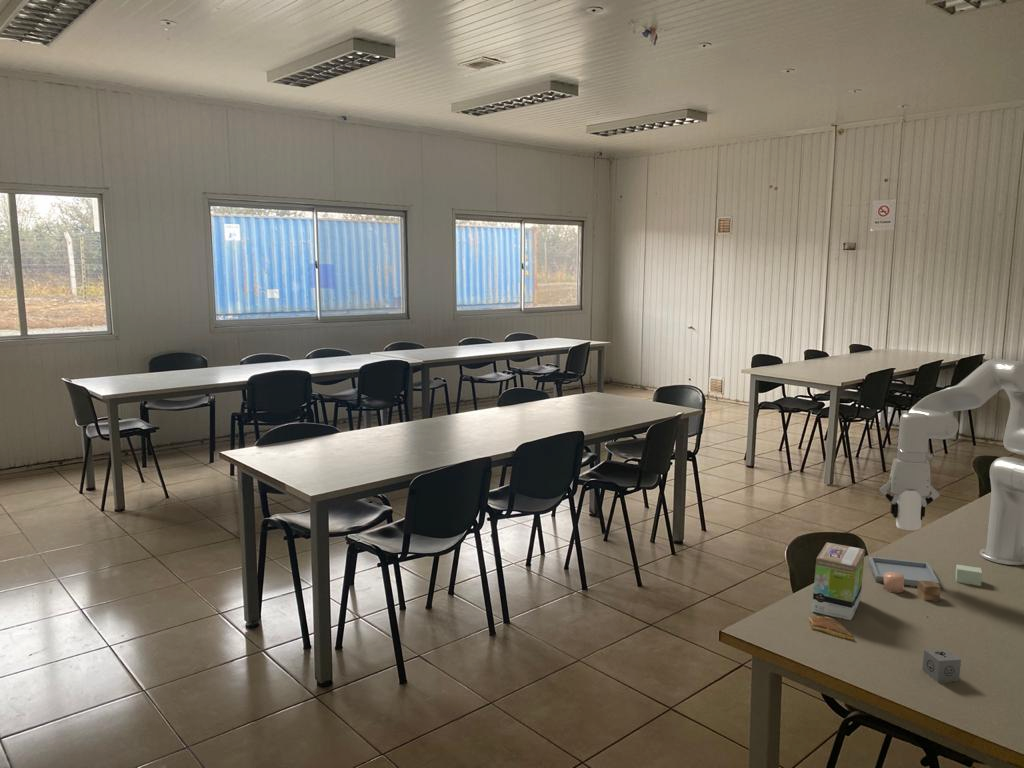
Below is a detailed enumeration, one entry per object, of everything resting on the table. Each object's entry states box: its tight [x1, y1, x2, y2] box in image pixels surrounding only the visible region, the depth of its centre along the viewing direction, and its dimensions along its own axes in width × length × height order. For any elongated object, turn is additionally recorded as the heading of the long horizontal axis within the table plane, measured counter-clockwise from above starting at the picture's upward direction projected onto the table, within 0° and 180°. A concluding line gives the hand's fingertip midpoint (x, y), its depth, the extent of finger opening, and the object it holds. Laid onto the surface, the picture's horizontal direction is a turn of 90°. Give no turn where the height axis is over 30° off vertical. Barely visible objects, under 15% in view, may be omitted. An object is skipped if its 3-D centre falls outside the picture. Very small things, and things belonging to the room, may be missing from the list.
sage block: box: [954, 564, 983, 587], centre depth 217 cm, size 6×4×4 cm, turn 64°
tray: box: [868, 556, 941, 588], centre depth 221 cm, size 16×16×2 cm
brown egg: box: [883, 572, 905, 594], centre depth 211 cm, size 5×5×4 cm
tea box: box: [811, 542, 866, 621], centre depth 199 cm, size 15×10×15 cm, turn 148°
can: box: [895, 489, 923, 532], centre depth 219 cm, size 6×6×12 cm
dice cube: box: [922, 647, 962, 683], centre depth 165 cm, size 5×5×5 cm
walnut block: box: [916, 581, 941, 602], centre depth 206 cm, size 4×4×4 cm
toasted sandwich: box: [808, 615, 855, 641], centre depth 186 cm, size 11×8×2 cm
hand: (907, 517), depth 219 cm, fingers closed on can, 5 cm apart
